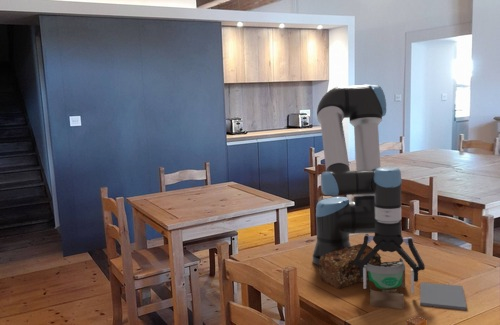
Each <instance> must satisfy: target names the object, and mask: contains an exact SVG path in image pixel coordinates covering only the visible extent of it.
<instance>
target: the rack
mask: <svg viewBox="0 0 500 325" xmlns="http://www.w3.org/2000/svg"><path fill="white" fill-rule="evenodd" d="M401 288H405V289H406V269H405V270H404V271H403V274H402V284H401ZM369 291H370V290H369ZM369 306H370V307H381V308H389V309H397V310H398V309H399V310H404V293H401V294H399V293H389V292H379V291H370V292H369Z"/></svg>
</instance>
